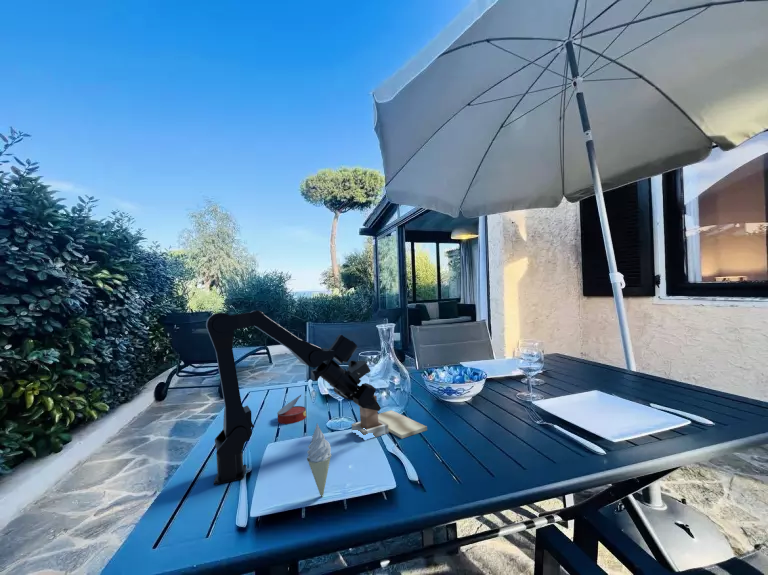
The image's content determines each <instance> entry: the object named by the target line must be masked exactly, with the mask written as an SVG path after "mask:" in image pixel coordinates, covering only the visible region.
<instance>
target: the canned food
mask: <svg viewBox="0 0 768 575" xmlns="http://www.w3.org/2000/svg"><path fill="white" fill-rule="evenodd" d="M300 398H302V394H300V395H299V396H297V397H296V398H294V399H292V400H291V401H290V402H287V404H286V405H283V407H282V408H281V409H279V411H278V412H277V413H276V414H277V422H278V423H279V424H281V425H290V424H296V423H299V422H301V421H304V420H305V419H306V418H307V410H306V407H305V406H303V405H302V406H301V405H297V406H296V404H297V403H298V401H299V399H300Z"/></svg>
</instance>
